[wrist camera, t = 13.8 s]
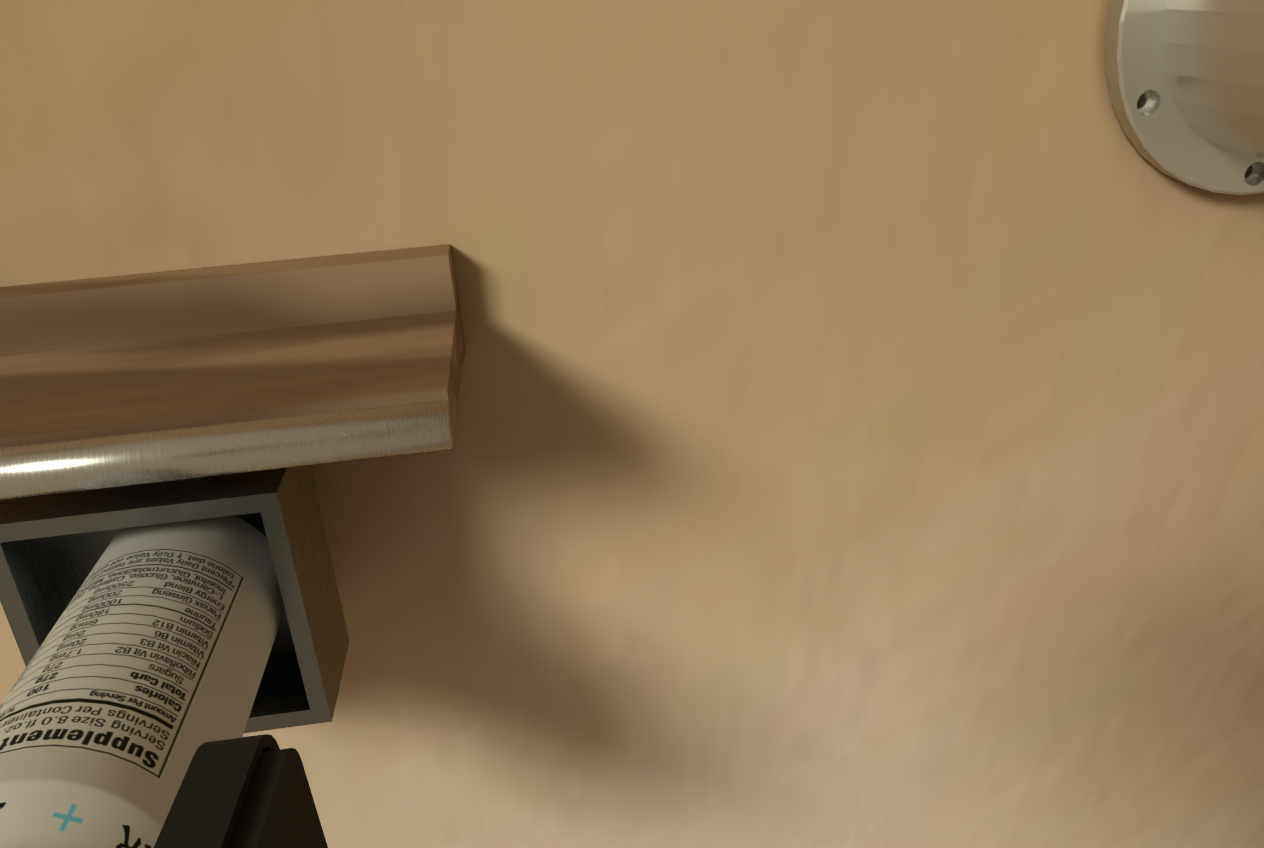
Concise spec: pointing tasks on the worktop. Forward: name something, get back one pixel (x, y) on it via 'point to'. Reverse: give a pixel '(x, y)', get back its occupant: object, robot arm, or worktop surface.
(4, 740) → the energy drink can
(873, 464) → the worktop surface
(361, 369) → the cup bracket
